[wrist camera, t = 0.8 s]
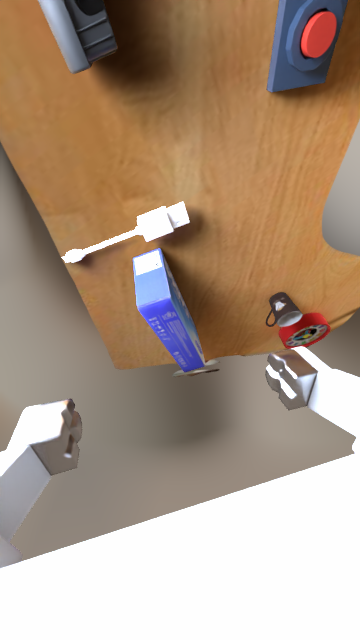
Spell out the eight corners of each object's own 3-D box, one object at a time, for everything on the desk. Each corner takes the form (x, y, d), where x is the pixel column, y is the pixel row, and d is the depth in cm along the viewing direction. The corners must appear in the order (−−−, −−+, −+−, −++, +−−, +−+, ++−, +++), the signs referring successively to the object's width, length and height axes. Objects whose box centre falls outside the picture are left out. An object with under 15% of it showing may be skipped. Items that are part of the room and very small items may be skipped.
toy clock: (326, 341, 109) (283, 353, 112) (319, 330, 112) (278, 343, 115) (335, 318, 93) (284, 333, 96) (327, 307, 96) (279, 322, 100)
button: (305, 14, 31) (312, 14, 30) (334, 9, 31) (342, 9, 30) (296, 58, 34) (302, 60, 33) (323, 54, 34) (329, 55, 33)
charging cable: (58, 247, 57) (55, 256, 55) (182, 198, 51) (184, 205, 49) (72, 262, 61) (70, 271, 59) (188, 218, 55) (190, 226, 53)
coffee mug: (289, 286, 82) (302, 308, 76) (289, 300, 88) (302, 321, 82) (257, 298, 84) (267, 320, 78) (259, 311, 91) (269, 332, 85)
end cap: (19, -55, 26) (1, -67, 22) (76, -85, 25) (68, -104, 21) (74, 70, 34) (68, 77, 30) (118, 50, 33) (119, 54, 29)
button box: (282, -26, 30) (296, -30, 28) (349, -38, 31) (368, -43, 28) (266, 89, 39) (276, 94, 37) (318, 80, 39) (330, 84, 37)
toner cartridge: (195, 324, 91) (206, 367, 80) (175, 330, 92) (183, 373, 81) (161, 245, 60) (171, 297, 49) (131, 256, 61) (134, 309, 50)
